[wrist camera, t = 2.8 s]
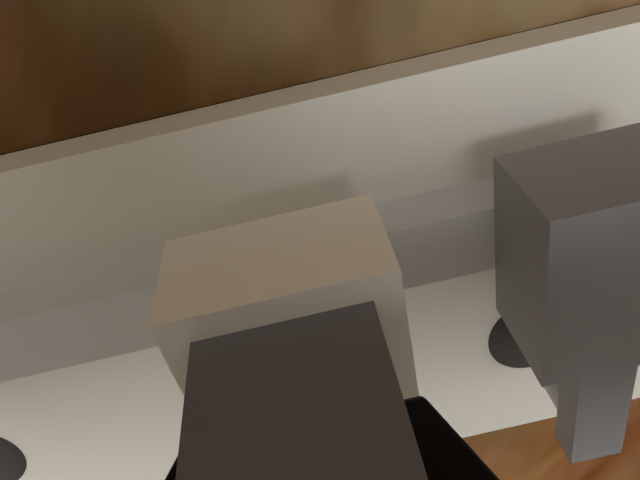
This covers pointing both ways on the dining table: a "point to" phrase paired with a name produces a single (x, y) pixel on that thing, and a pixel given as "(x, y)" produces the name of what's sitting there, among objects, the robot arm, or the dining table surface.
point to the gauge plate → (398, 220)
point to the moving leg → (290, 348)
